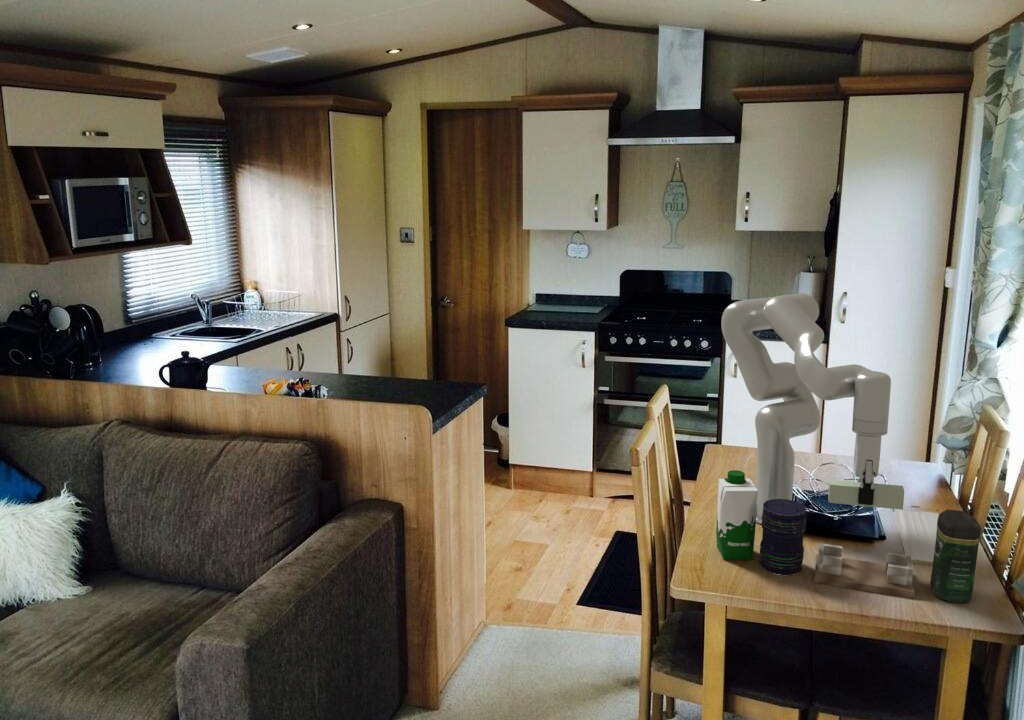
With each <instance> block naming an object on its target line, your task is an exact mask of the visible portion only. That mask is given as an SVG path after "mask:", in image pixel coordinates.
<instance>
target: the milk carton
mask: <svg viewBox="0 0 1024 720" xmlns="http://www.w3.org/2000/svg"><path fill="white" fill-rule="evenodd" d="M745 476H746V475H745V472H743V471H742V470H735V469H732V470H729V471H727V477H724V478H718V490H717V491H718V492H717V493H718V494H717V508H716V510H717V512H716V513H717V514H716V528H715V529H716V531H715V532H716V548H717V549H718V552H719V553H720V555H721V557H722V560H724V561H738V560H740V561H745V560H747V561H748V560H751V561H753V556H754V550H755V549H754V547H755V540H756V539H755V538H756V537H755V536H756V524H757V522H756V510H757V496H758V490H757V489H756V486H755V485H756V484H754V482H753V481H752V480H751V478H745Z"/></svg>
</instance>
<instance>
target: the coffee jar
mask: <svg viewBox="0 0 1024 720" xmlns="http://www.w3.org/2000/svg"><path fill="white" fill-rule="evenodd" d="M938 515H939V517H938V521H937V532H936V543H935V551H934V558H933V565H931V566H932V568H931V571H930V572H931V574H930V581H929V582H930V588H931V590H932V592H933V594H934V595H935V597H938V598H939V599H941V600H945V601H949V602H950V603H954V604H955V603H957V604H958V603H959V604H960V603H967V602H971V601H972V599H973V594H974V593H973V592H974V586H975V585H974V584H975V574H976V567H977V562H978V561H977V560H978V551H979V545H980V539H981V529H982V528H981V525H980V523H979V522H978V521H977V520H976V518H975V517H974V516H972V515H970V514H969V513H967V511H965V510H958V509H957V510H956V509H948V508H947V509H945V510H943V511H941V512H940V513H938Z"/></svg>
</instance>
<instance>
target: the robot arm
mask: <svg viewBox="0 0 1024 720" xmlns="http://www.w3.org/2000/svg"><path fill="white" fill-rule="evenodd" d="M819 316H820V307H819V304H818V302H817V301H816V299H815V298H814V297H813V296H811V295H810V294H807V293H803V292H802V293H791V294H782V295H776V296H770V297H769V296H768V297H761V298H749V299H748V298H747V299H741V300H738V301H734V302H733V303H730V304H729V305H727V307H726V308H725V309H724V311H723V312H722V315H721V333H722V335H723V338H724V340H725V342H726V345H727V346H728V347H729V349H730V351H731V352H732V355H733V356H734V359H735V360H736V364H737V367H738V368H739V371H740V374H741V376H742V377H741V378H742V379H743V382H744V384H745V387H746V388H747V389H746V390H747V392H748V393H749V395H750V397H751V398H752V399H753V400H755V401H756V402H767V401H768V402H769V401H773V400H774V401H775V400H779V399H780V400H781V399H782V400H783V401H780V402H776V403H775V402H774V403H771V404H767V405H765V406H762V407H761V408H760V409H759V410H758V411H757V413H756V415H755V419H754V425H755V432H756V440H757V442H756V443H757V449H756V451H757V453H756V472H755V484H754V485H755V486H756V489H757V490H758V496H757V510H756V524H760V525H762V524H761V523H762V514H763V504H764V502H766V501H768V500H772V499H787V500H792V501H793V492H794V477H795V460H796V459H795V457H796V456H795V455H796V454H795V451H794V448H793V446H792V444H791V441H790V439H792V438H796V437H802V436H806V435H809V434H813V433H814V432H816V431H817V430H818V428H819V427H820V424H821V414H820V413H821V412H820V409H819V407H818V404H817V401H816V400H815V397H814V395H815V396H816V398H819V399H821V400H823V401H836V400H841V399H845V398H853V407H852V409H853V410H852V423H851V426H852V427H851V431H852V432H853V433H854V434H855V443H854V454H853V463H852V464H853V465H852V466H853V472H854V473H853V474H854V475H855V476H856V477H858V480H857V482H861V483H860V487H859V494H858V503H859V504H863V505H873V498H874V488H873V486H874V483H875V478H877V477H878V476H879V469H880V461H881V460H880V459H881V450H882V437H883V436H886V435H888V430H889V429H888V428H889V415H890V414H889V413H890V401H891V389H892V387H891V386H892V379H891V377H890V375H888V373H885V372H882V371H878V370H877V371H875V370H871V369H869V368H867V367H865V366H863V365H860V364H854V363H853V364H847V365H838V366H832V367H826V366H825V365H824V364H823V363H822V362H821V361H820V360H819V359H818V358H817V357H816V355H815V351H816V350H818V349H819V348H820V346H821V344H823V341H824V340H825V339H824V337H825V333H824V330H823V329H822V328H821V327H820V325H818V324H817V323H816V322H817V320H818V318H819ZM770 329H771V330H772V329H773V331H774V332H775V334H777V335H778V336H779V338H781V339H782V340H783V341H784V343H785V344H786V345H787V346H788V347H789V348H790V350H792V351H793V353H794V356H793V362H794V363H793V362H788V361H783V362H782V361H781V362H777V363H775V362H774V361H773V360H772V359H771V356H770V354H769V351H768V349H767V347H766V346H765V344H764V343H763V341H761V340H760V338H758V337H757V336H756V335H755V334H754V333H753V332H755V331H763V330H770ZM813 394H814V395H813Z"/></svg>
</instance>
